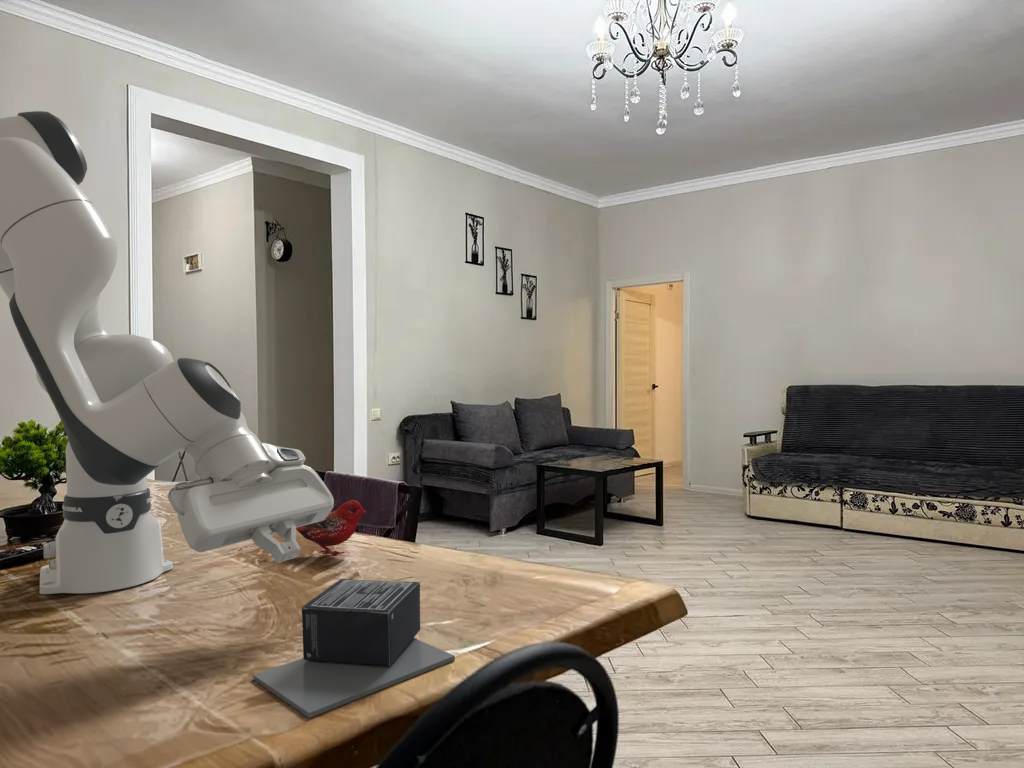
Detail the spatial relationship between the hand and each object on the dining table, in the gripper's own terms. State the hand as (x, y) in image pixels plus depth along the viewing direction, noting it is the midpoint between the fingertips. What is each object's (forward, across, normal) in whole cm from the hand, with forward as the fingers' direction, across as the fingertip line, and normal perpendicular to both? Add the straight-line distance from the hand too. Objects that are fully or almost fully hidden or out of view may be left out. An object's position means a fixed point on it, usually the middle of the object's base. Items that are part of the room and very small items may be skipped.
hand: (289, 557), depth 86 cm
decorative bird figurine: (-12, +28, +26) cm, 40 cm away
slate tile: (+17, -3, -4) cm, 18 cm away
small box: (+9, -1, 0) cm, 9 cm away
